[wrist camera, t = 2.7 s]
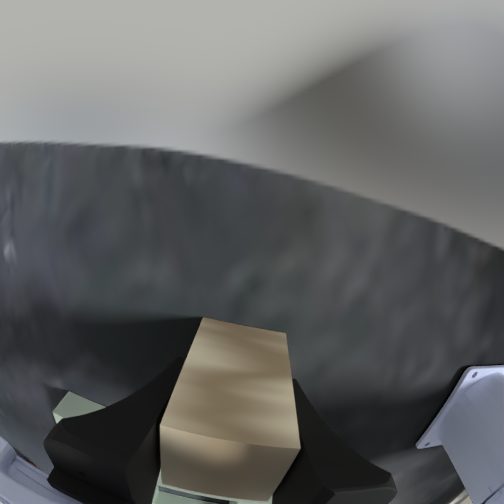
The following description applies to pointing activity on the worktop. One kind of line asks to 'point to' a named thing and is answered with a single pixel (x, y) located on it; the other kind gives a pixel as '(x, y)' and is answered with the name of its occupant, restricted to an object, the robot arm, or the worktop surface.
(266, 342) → the beech block
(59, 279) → the worktop surface
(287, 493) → the robot arm
